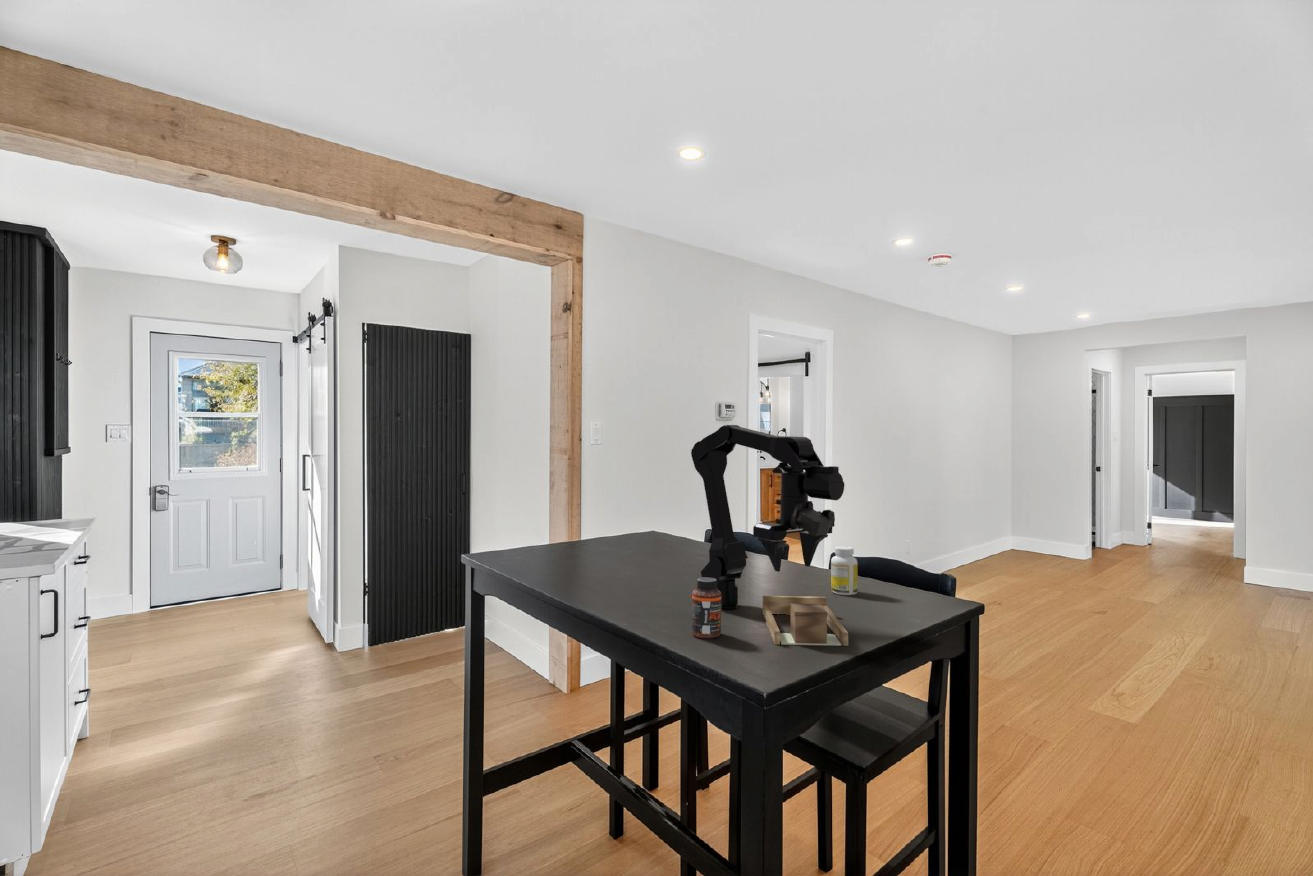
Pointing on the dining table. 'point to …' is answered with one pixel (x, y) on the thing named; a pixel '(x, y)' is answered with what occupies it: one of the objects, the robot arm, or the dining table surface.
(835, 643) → the front pad
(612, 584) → the dining table surface
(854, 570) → the pill bottle
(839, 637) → the bay
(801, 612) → the crate
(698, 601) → the supplement bottle
